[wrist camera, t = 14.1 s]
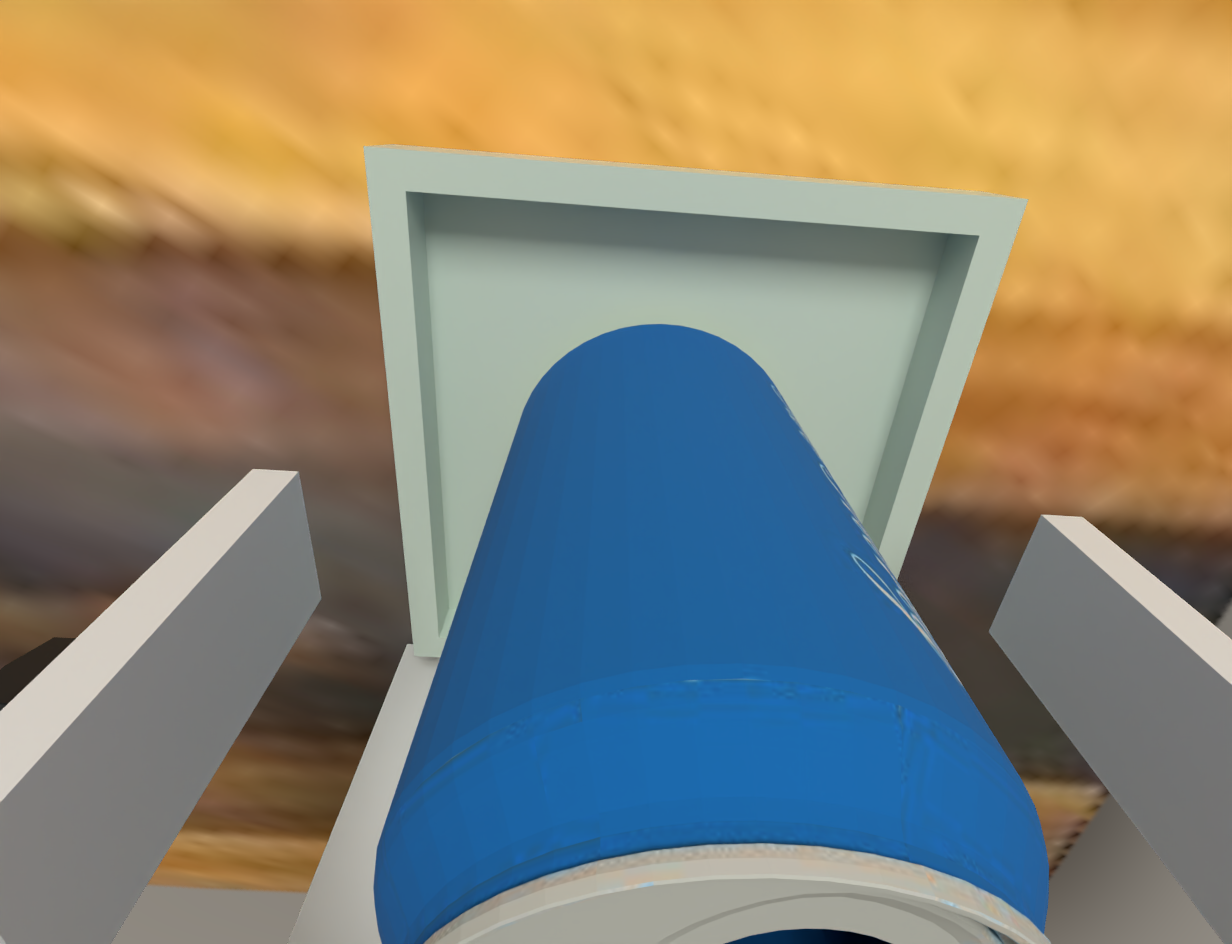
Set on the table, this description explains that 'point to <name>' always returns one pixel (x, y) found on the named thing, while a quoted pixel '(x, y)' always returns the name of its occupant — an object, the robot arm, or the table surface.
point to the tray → (666, 317)
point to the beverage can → (694, 696)
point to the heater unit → (365, 818)
